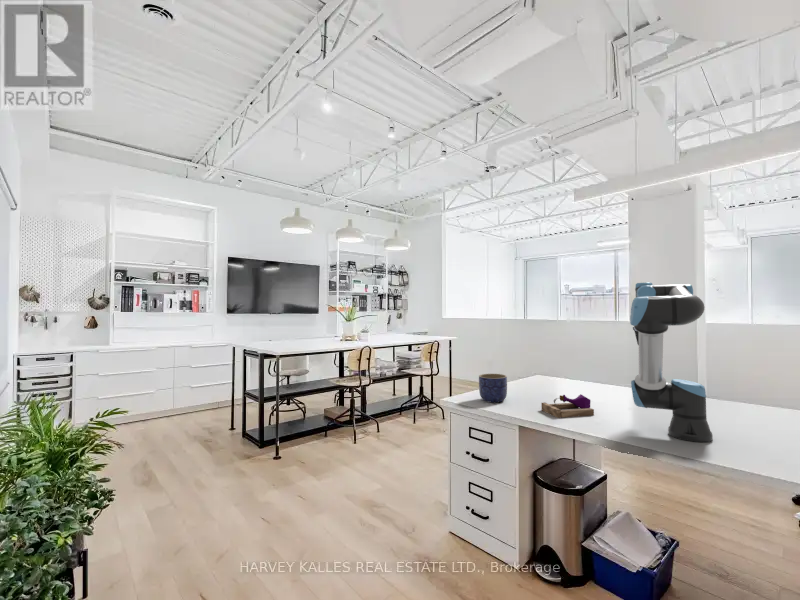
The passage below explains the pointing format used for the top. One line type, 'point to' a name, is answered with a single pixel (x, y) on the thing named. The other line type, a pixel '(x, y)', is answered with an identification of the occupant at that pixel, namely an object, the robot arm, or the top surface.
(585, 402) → the purple potion bottle
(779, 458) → the top surface
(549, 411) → the u rest
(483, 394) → the planter
